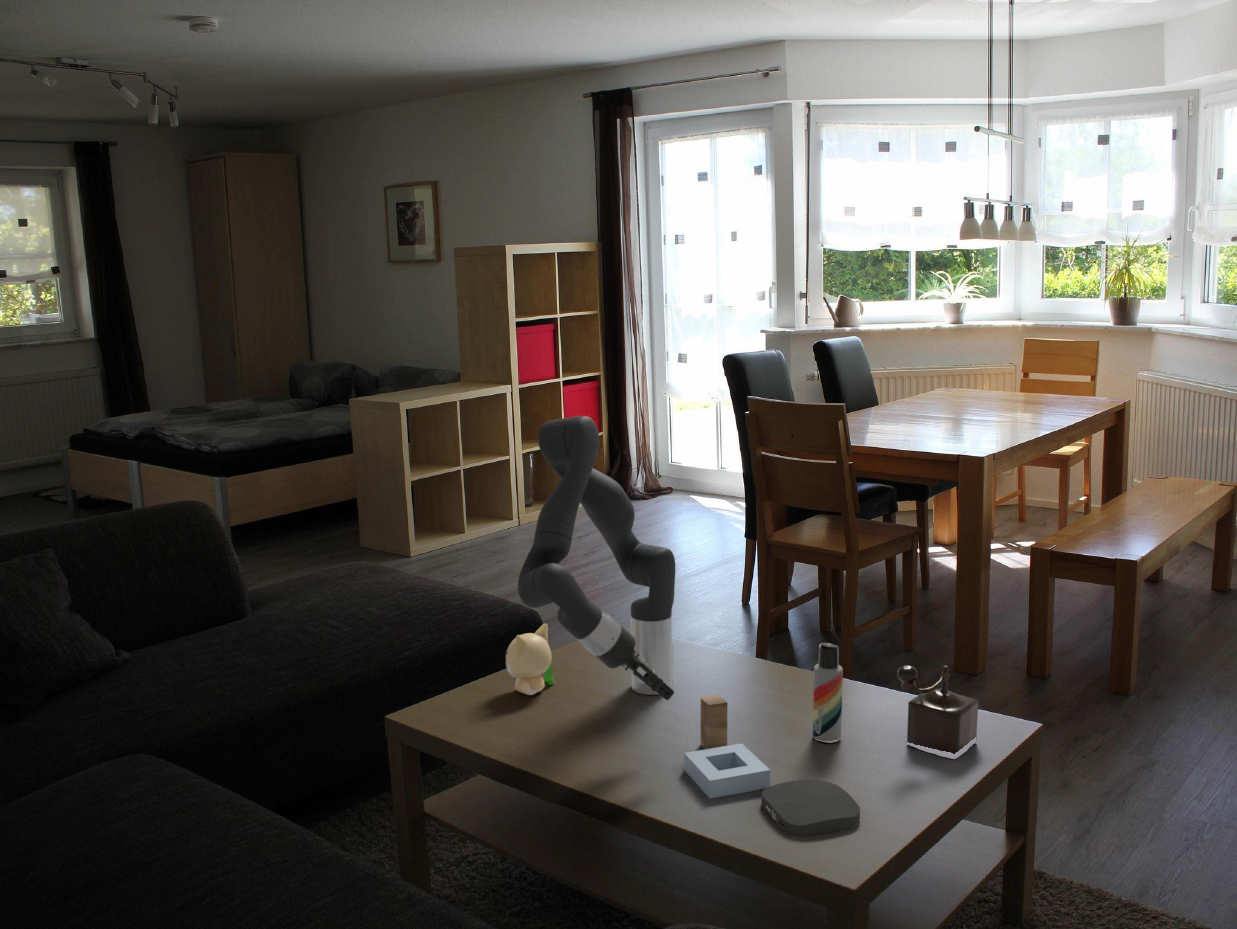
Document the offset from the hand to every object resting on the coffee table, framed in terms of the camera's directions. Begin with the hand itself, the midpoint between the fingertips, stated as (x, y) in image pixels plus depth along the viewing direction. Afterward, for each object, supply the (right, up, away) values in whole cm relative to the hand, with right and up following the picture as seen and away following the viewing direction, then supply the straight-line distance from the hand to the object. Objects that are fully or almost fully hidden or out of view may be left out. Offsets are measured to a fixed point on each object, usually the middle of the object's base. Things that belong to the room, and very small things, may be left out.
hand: (662, 688), depth 207 cm
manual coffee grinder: (+54, -13, +4) cm, 56 cm away
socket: (+12, -15, -8) cm, 21 cm away
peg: (+10, -13, +6) cm, 18 cm away
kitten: (-28, -8, +36) cm, 47 cm away
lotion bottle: (+34, -12, +9) cm, 37 cm away
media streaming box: (+25, -18, -20) cm, 37 cm away
